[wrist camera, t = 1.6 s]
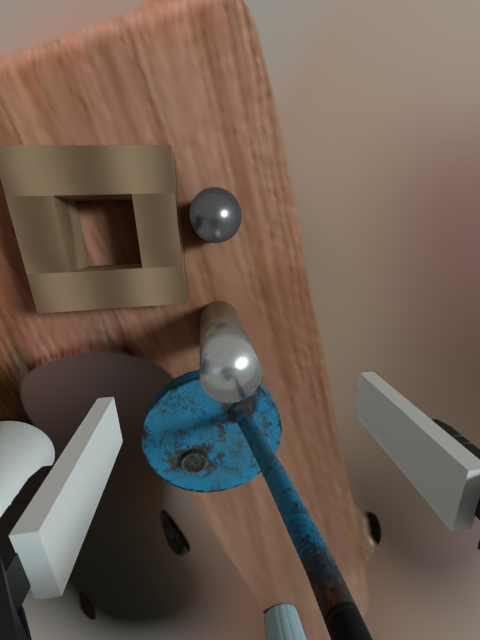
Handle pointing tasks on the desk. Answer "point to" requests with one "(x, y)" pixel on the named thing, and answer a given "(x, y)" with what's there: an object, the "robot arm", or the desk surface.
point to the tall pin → (226, 355)
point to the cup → (283, 623)
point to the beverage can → (20, 457)
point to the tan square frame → (66, 233)
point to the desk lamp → (243, 475)
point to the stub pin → (215, 214)
